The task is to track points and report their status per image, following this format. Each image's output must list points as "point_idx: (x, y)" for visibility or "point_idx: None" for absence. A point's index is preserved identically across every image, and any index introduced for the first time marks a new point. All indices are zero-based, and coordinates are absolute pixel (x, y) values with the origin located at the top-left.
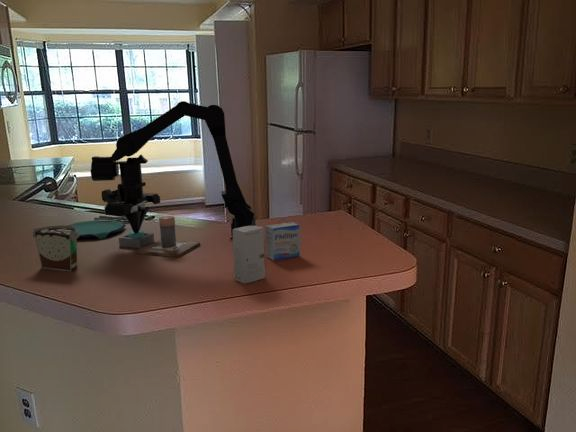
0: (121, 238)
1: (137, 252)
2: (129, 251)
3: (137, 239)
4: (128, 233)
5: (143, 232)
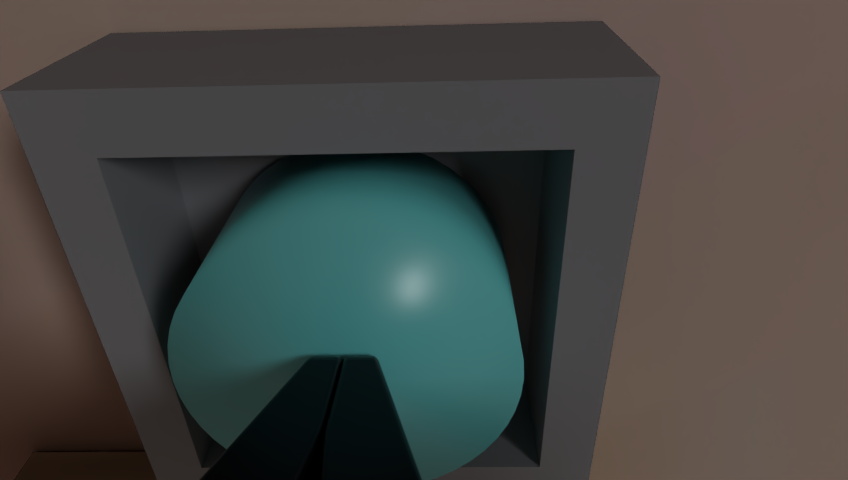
0: (38, 168)
1: (29, 469)
2: (31, 341)
3: (157, 467)
4: (216, 270)
5: (421, 476)
